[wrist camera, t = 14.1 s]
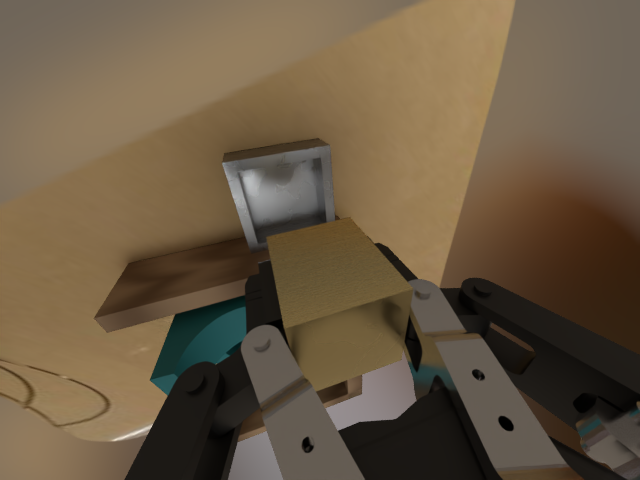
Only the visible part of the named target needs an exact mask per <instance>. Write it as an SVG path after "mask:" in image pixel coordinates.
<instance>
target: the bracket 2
mask: <svg viewBox="0 0 640 480" xmlns="http://www.w3.org/2000/svg"><path fill="white" fill-rule="evenodd" d="M336 220H340V218H339V217H338V216H335V221H336ZM270 259H271V258H270V253H269V250H265V251H261V252H257V253H253V254H251V252H250V249H249V246H248V242H247V239H246V237H243V238H239V239H234V240H230V241H226V242H221V243H217V244H213V245H208V246H204V247H199V248H195V249H191V250H186V251H182V252H178V253H173V254H169V255H164V256H160V257H156V258H151V259H147V260H143V261H138V262H134V263H129V264H128V265H127V267H126V268H125V270H124V271H123V273H122V275H121V276H120V278H119V279H118V281H117V283H116V284H115V286H114V287H113V289H112V290H111V292H110V294H109V295H108V297H107V298H106V300H105V302H104V303H103V305H102V306H101V308H100V309H99V311H98V313H97V314H96V316H95V317H94V319H95V320H96V321H97V322H98V323H99V324H100V326H101V327H102V328H103V329H104V330H105V331H106V332H107V333H108V332H112V331H115V330H119V329H123V328H126V327H130V326H134V325H137V324H141V323H145V322H148V321H152V320H156V319H159V318H163V317H166V316H170V315H174V314H177V313H181V312H185V311H188V310H192V309H196V308H199V307H203V306H207V305H210V304H214V303H218V302H221V301H225V300H229V299H232V298H236V297H239V296H243V295H245V284H246V281H247V279H248V277H249V276H251V275H255V274H259V267H258V263H259V262H263V261H267V260H270ZM316 393H317V395H318V397H319V398H320V400H321V402H322V404H323V406H324V407H325V408H327V407H330V406H332V405H335V404H337V403H340V402H343V401H345V400H348V399H350V398H353V397H355V396H358V395H361V394H362V375H359V376H357V377H354V378H351V379H349V380H346V381H343V382H340V383H338V384H335V385H332V386H330V387H327V388H324V389H322V390H319V391H316ZM265 431H267V430H266V427H265V424H264V421H263V418H262V415H261V408H259V409H258V410H256V411H255V412H254V413H252V414H251V415H250V416H249V417H247V418H246V419H245V420H244V421H243V423H242V426H241V430H240V434H239V438H238V442H239V441H242V440H245V439H247V438H250V437H252V436H255V435H257V434H260V433H263V432H265Z"/></svg>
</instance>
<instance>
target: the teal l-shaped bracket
mask: <svg viewBox="0 0 640 480" xmlns="http://www.w3.org/2000/svg"><path fill="white" fill-rule="evenodd" d="M245 303H246V301H245V295H243V296H239V297H236V298H232V299H229V300H225V301H221V302H218V303H214V304H210V305H207V306H203V307H199V308H196V309H192V310H188V311H185V312H181V313H177V314H175V316H174V319H173V322H172V324H171V327H170V329H169V332H168V334H167V337H166V340H165V342H164V345H163V347H162V350H161V353H160V355H159V358H158V360H157V363H156V366H155V368H154V371H153V373H152V376H151V378H150V381H151V382H153V383H154V384H155V385H156V386H157V387H158V388H160V389H161V390H162V391H163V392H164V393H165V394H167V395H169V393H170V391H171V389H172V387H173V385H174V383H175V382H176V380H177V379H178V377H179V376H180V375H181V374H182V373H183V372H184V371H185V370H186V369H187V368H189V367H190V366H192V365H194V364H196V363H199V362H204V361H208V362H212V363H214V364H216V363H217V364H218V363H219V362H221V361H222V360H224V359H226V358H227V357H229V356H230V355H232V354H233V353H234V352H236V351H237V350H238V349H239V347H240V346H241V344H242V341H243V339H244V337H245V336H246V304H245Z"/></svg>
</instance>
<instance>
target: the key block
mask: <svg viewBox="0 0 640 480" xmlns="http://www.w3.org/2000/svg"><path fill="white" fill-rule="evenodd" d="M266 238H267V243H268V248H269V253H270V258H271V264H272V269H273V274H274V279H275V284H276V289H277V294H278V299H279V305H280V310H281V315H282V320H283V325H284V330H285V333H286V336H287V340H288V343H289V347H290V350H291V353H292V355H293V357H294V359H295V360H296V362H297V364H298V366H299V368H300V370H301V371H302V373H303V375H304V377H305V378H306V379H308V380H309V381H310V383H311V384H312V386H313V388H314V389H315V391H319V390H322V389H324V388H327V387H330V386H332V385H335V384H338V383H340V382H343V381H346V380H349V379H351V378H354V377H357V376H359V375H362V374H365V373H367V372H370V371H372V370H376V369H378V368H381V367H384V366H386V365H389V364H392V363H394V362H397V361H400V360H401V358H402V353H403V346H404V341H405V335H406V329H407V324H408V318H409V312H410V306H411V301H412V295H413V287H412V286H411V285H410V284H409V283H408V282H407V281H406V280H405V278H404V277H403V276H402V275H401V274H400V273H399V272H398V271H397V269H396V268H395V267H394V266H393V265H392V264H391V263H390V262H389V260H388V259H387V258H386V257H385V256H384V255H383V254H382V253H381V251H380V250H379V249H378V248H377V247H376V246H375V245H374V244H373V242H372V241H371V240H370V239H369V238H368V237H367V236H366V235H365V233H364V232H363V231H362V230H361V229H360V228H359V227H358V226H357V224H356V223H355V222H354V221H353V220H352V219H351V218H350V217H349V218H344V219H340V220H336V221H332V222H327V223H323V224H319V225H315V226H310V227H306V228H302V229H298V230H293V231H289V232H285V233H281V234H276V235H272V236H268V237H266Z"/></svg>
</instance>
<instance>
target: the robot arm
mask: <svg viewBox="0 0 640 480" xmlns="http://www.w3.org/2000/svg"><path fill="white" fill-rule="evenodd" d="M367 237H368V236H367ZM368 238H369V237H368ZM369 239H370V238H369ZM370 240H371V239H370ZM371 241H372V240H371ZM373 244H374V243H373ZM374 245H375V246H376V247H377V248H378V249H379V250H380V251H381V253H382V254H383V255H384V256H385V257H386V258H387V259H388V260H389V262H390V263H391V264H392V265H393V266H394V267H395V268H396V269H397V271H398V272H399V273H400V274H401V275H402V276H403V277H404V278H405V280H406V281H407V282H408V283H409V284H410V285H411V286H412V287H413V295H412V301H411V306H410V312H409V318H408V324H407V329H406V335H405V341H404V346H403V349H404V352H405V355H406V358H407V361H408V364H409V367H410V369H411V373H412V376H413V380H414V390H415V396H416V399H417V401H416V402H415V403H414V404H413V405H412V406H410V407H409V408H408V409H407V410H406V411H405V412H404V413H403V414H402V415H401V416H399V417H398V418H397V419H394V420H381V421H367V422H359V423H356V424H354V425H351V426H349V427H346V428H344V429H341V430H339V431H337V429H336V427H335V425H334V424H333V422H332V420H331V418H330V417H329V415H328V413H327V411H326V409H325V407H324V406H323V404H322V402H321V400H320V398H319V397H318V395H317V393H316V391H315V389H314V388H313V386H312V384H311V383H310V381H309V380H308V379H306V378H305V377H304V375H303V373H302V371H301V370H300V368H299V366H298V364H297V362H296V360H295V359H294V357H293V355H292V353H291V350H290V347H289V343H288V340H287V336H286V333H285V330H284V325H283V320H282V315H281V310H280V305H279V299H278V294H277V289H276V284H275V279H274V274H273V269H272V264H271V259H270V260H267V261H263V262H259V263H258V267H259V274H255V275H251V276H249V277H248V279H247V281H246V284H245V301H246V303H245V304H246V336H245V337H244V339H243V341H242V344H241V346H240V347H239V349H238V350H237V351H236V352H234V353H233V354H232V355H230V356H229V357H227V358H226V359H224V360H222V361H221V362H219V363H218V364H216V365H215V364H214V363H212V362H208V361H204V362H199V363H196V364H194V365H192V366H190V367H189V368H187V369H186V370H185V371H184V372H183V373H182V374H181V375H180V376H179V377H178V379H177V380H176V382H175V383H174V385H173V387H172V389H171V391H170V393H169V395H168V397H167V399H166V400H165V402H164V404H163V406H162V408H161V410H160V412H159V414H158V416H157V418H156V420H155V422H154V424H153V426H152V427H151V429H150V431H149V433H148V435H147V437H146V439H145V441H144V443H143V445H142V447H141V449H140V451H139V453H138V454H137V457H136V458H135V460H134V462H133V464H132V466H131V468H130V470H129V472H128V474H127V476H126V478H125V480H228V476H229V473H230V469H231V465H232V461H233V457H234V453H235V449H236V446H237V442H238V438H239V434H240V430H241V426H242V423H243V421H244V420H245V419H246V418H247V417H249V416H250V415H251V414H252V413H254V412H255V411H256V410H258V409H259V408H261V415H262V418H263V421H264V424H265V427H266V430H267V433H268V436H269V439H270V441H271V444H272V447H273V450H274V453H275V456H276V459H277V462H278V465H279V468H280V471H281V473H282V477H283V479H284V480H640V355H639V354H637V353H635V352H633V351H631V350H628V349H626V348H624V347H623V346H621V345H618V344H617V343H614V342H612V341H610V340H608V339H606V338H604V337H602V336H600V335H598V334H596V333H594V332H592V331H590V330H588V329H586V328H584V327H582V326H580V325H578V324H576V323H574V322H572V321H570V320H568V319H565V318H564V317H562V316H560V315H558V314H555V313H553V312H551V311H549V310H547V309H545V308H543V307H541V306H539V305H537V304H535V303H533V302H531V301H529V300H527V299H525V298H523V297H521V296H519V295H517V294H515V293H513V292H511V291H509V290H506V289H504V288H503V287H501V286H499V285H496V284H494V283H492V282H490V281H488V280H485V279H481V278H469V279H466V280H464V281H463V283H462V285H461V288H447V289H446V288H439V287H438V286H436V285H435V284H434V283H432V282H430V281H427V280H422V279H418V278H417V277H416V276H415V275H414V274H413V273H412V272H411V271H410V270H409V269H408V268H407V267H406V266H405V265H404V264H403V263H402V261H401V260H399V258H398V257H397V256H396V255H394V253H393V252H392V251H391V250H390V249H389V248H388V247H386V246H384V245H382V244H380V243H376V244H374ZM492 323H494V324H496V325H497V326H499V327H501V328H502V329H504V330H506V331H507V332H509V333H511V334H512V335H514V336H516V337H517V338H519V339H521V340H522V341H524V342H526V343H527V344H529V345H530V346H531V347H532V348H533V349H534V351H535V352H532V351H528V350H526V349H525V348H523V347H521V346H519V345H518V344H516V343H515V342H513V341H511V340H510V339H508V338H507V337H505V336H503V335H502V334H500V333H498V332H497V331H495V330H494V329H492V328H491V327H490V326H491V324H492ZM515 386H516V387H517V388H518V389H520V390H521V391H523V392H524V393H525V394H527V395H528V396H529V397H531V398H532V399H533V400H535V401H536V402H538V403H539V404H540V405H542V406H543V407H544V408H546V409H547V410H548V411H550V412H551V413H552V414H554V415H555V416H557V417H558V418H559V419H561V420H562V421H563V422H565V423H566V424H568V425H569V426H570V427H572V428H573V429H574V430H576V431H577V432H579V434H580V436H581V438H582V440H581V446H582V448H583V450H584V451H585V452H586V453H587V454H588V455H589V456H590V457H591V458H592V459H594V460H596V461H598V462H601V463H606V464H607V465H608V466H609V467H610V468H611V469H612V470H613V471H614V472H613V471H611V470H610V469H608V468H606V467H604V466H602V465H600V464H599V463H597V462H595V461H593V460H591V459H590V458H588V457H586V456H584V455H582V454H581V453H579V452H577V451H575V450H574V449H572V448H570V447H568V446H566V445H564V444H563V443H561V442H559V441H557V440H555V439H554V438H552V437H550V436H548V435H547V434H546V432H545V431H544V429H543V428H542V426H541V425H540V423H539V422H538V420H537V419H536V418H535V416H534V414H533V413H532V411H531V410H530V408H529V407H528V405H527V404H526V402H525V401H524V399H523V398H522V396H521V395H520V393H519V392H518V390H517V389H516V387H515Z"/></svg>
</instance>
